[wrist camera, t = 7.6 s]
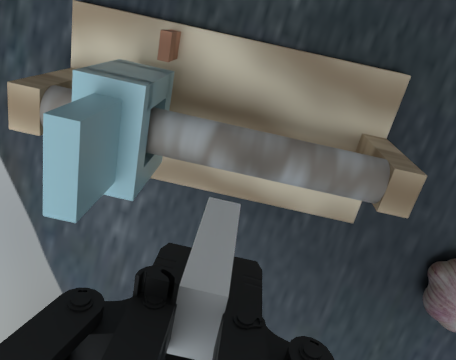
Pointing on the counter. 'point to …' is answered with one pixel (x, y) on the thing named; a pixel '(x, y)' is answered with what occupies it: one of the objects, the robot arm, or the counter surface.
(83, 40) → the pipe stand
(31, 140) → the counter surface
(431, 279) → the garlic bulb
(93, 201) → the collar
